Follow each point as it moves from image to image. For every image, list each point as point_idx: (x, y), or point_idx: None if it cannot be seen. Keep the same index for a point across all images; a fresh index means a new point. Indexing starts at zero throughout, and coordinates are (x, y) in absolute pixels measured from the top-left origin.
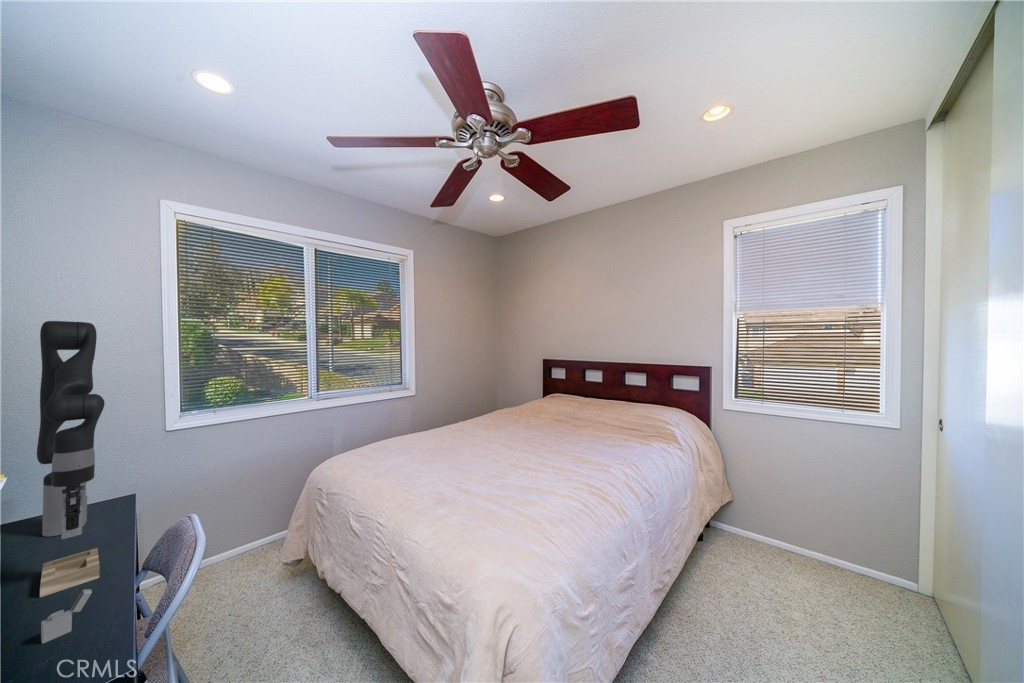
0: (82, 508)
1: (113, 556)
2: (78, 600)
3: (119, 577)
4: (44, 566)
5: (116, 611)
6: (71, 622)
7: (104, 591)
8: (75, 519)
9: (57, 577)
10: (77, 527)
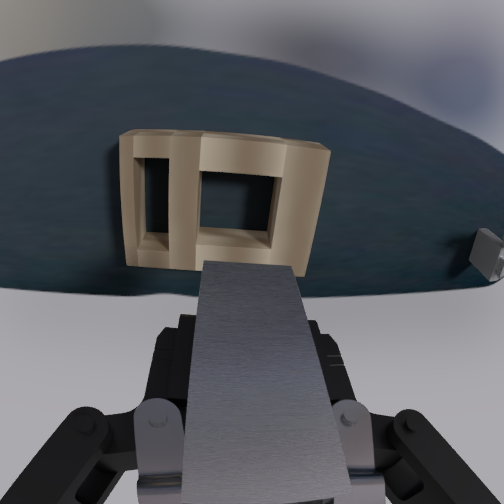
0: (335, 430)
1: (172, 88)
2: None
3: (372, 108)
4: (156, 264)
5: (501, 169)
6: (496, 236)
7: (415, 155)
8: (349, 385)
9: (287, 244)
10: (312, 321)
